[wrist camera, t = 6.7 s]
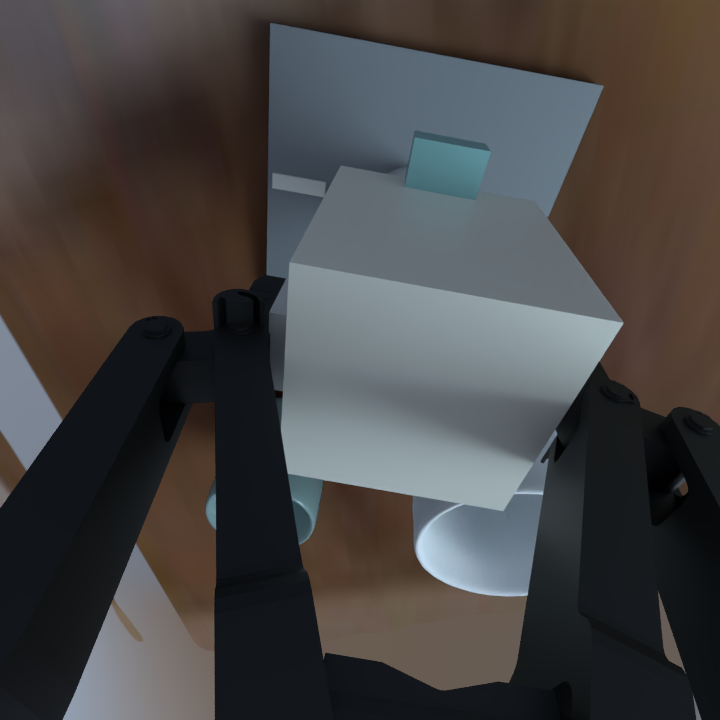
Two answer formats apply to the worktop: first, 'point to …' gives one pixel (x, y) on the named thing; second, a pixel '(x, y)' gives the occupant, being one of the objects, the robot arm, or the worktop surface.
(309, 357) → the grey cube
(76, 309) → the worktop surface
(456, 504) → the mug
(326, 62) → the post plate
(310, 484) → the cup
